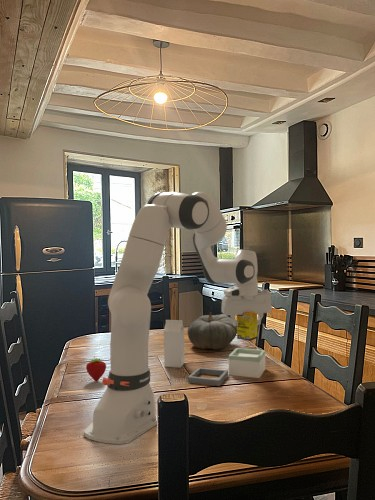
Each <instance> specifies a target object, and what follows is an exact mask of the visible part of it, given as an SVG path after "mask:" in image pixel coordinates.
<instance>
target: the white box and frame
mask: <svg viewBox="0 0 375 500" xmlns="http://www.w3.org/2000/svg"><path fill="white" fill-rule="evenodd" d="M265 370H266V350H264V349H256V348H255V349H254V348H241V347H236V348H234V349H233V351H231V353H229V355H228V370H227V369H218V368H209V367H208V368H207V367H198V368H197V369H195V370H194V371H192V373H190V375H188V376H187V383H191V384H198V385H199V384H200V385H206V384H208V386H214V385H216V386H217V387H220V386H221V385H220V384H223V383H224V381H225V380H226V379H227V378H228V376H235V377H236V376H237V377H245V378H254V379H255V378H257V379H260V378H261V376H262V375H263V373H264V372H265ZM199 375H210V376H211V375H212V376H218V377H217V378H209V377H200V376H199Z"/></svg>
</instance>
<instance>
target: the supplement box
mask: <svg viewBox="0 0 375 500" xmlns="http://www.w3.org/2000/svg"><path fill="white" fill-rule="evenodd" d="M257 319H258V313H257V314H255V312H243V314H240V315H236V321H238V326H237V334H236V339H237V340H242V341H243V340H244V341H249V342H251V341H254V340H256V339H258V325H257Z"/></svg>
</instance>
